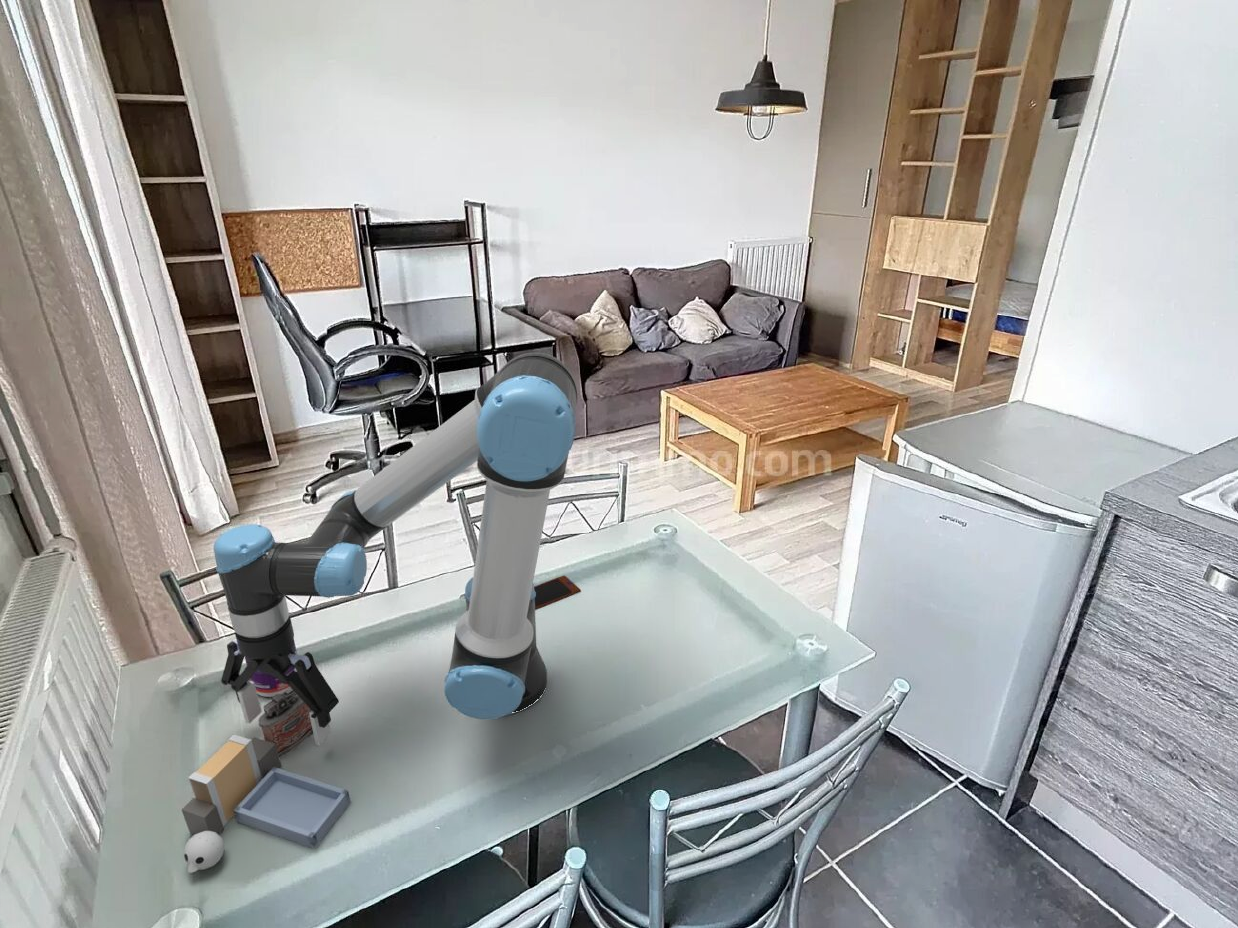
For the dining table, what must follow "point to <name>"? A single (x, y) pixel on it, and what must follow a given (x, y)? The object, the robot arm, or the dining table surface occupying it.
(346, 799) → the tray
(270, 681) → the pill bottle
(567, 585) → the smartphone
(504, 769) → the dining table surface
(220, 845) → the figurine
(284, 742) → the lighter
